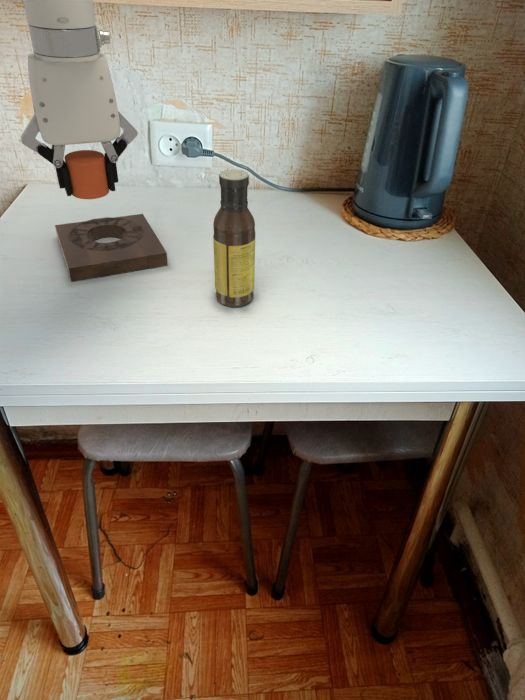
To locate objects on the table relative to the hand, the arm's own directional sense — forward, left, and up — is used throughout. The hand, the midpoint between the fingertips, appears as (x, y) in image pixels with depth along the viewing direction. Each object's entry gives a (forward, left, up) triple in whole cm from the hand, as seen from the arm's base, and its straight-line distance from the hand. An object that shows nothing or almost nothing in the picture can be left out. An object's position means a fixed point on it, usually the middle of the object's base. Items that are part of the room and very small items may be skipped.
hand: (89, 188), depth 72 cm
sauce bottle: (+18, -11, -16) cm, 26 cm away
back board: (+3, +10, -16) cm, 19 cm away
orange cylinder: (0, 0, 0) cm, 0 cm away
